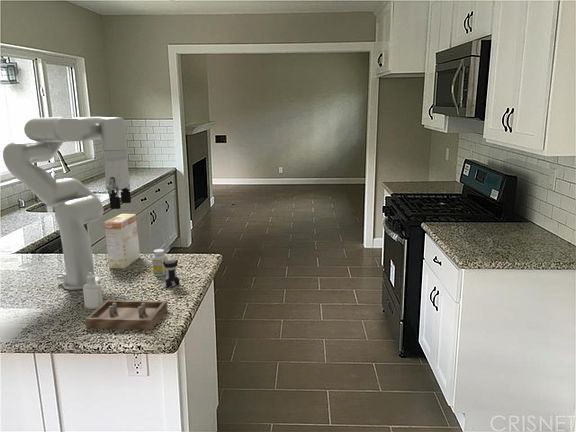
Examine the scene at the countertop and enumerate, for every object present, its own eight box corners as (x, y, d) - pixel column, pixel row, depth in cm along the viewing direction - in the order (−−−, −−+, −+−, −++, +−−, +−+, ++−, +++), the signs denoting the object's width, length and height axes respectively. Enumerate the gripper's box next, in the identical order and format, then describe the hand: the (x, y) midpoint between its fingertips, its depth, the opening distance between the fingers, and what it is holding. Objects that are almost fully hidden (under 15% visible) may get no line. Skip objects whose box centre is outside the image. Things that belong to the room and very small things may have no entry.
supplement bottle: (157, 277, 184) (155, 253, 182) (150, 274, 188) (148, 250, 186) (170, 273, 187) (168, 250, 185) (163, 270, 191) (161, 247, 189)
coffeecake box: (125, 256, 210) (121, 213, 205) (140, 257, 209) (136, 213, 204) (108, 268, 195) (103, 221, 191) (124, 268, 194) (120, 222, 190)
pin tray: (86, 328, 143) (84, 314, 142) (107, 308, 156) (106, 295, 155) (151, 329, 141) (150, 315, 140) (167, 309, 154) (166, 296, 153)
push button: (164, 289, 171) (162, 263, 169) (159, 285, 175) (156, 259, 173) (182, 285, 175) (180, 259, 173) (176, 281, 179) (174, 255, 177)
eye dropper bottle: (92, 311, 154) (88, 276, 151) (83, 307, 158) (79, 272, 155) (105, 306, 158) (101, 272, 155) (95, 302, 161) (91, 269, 158)
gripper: (114, 152, 168) (119, 201, 171) (93, 158, 151) (99, 211, 155) (136, 152, 167) (140, 200, 171) (117, 157, 150) (122, 211, 154)
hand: (121, 205), depth 163 cm, fingers open, 9 cm apart
